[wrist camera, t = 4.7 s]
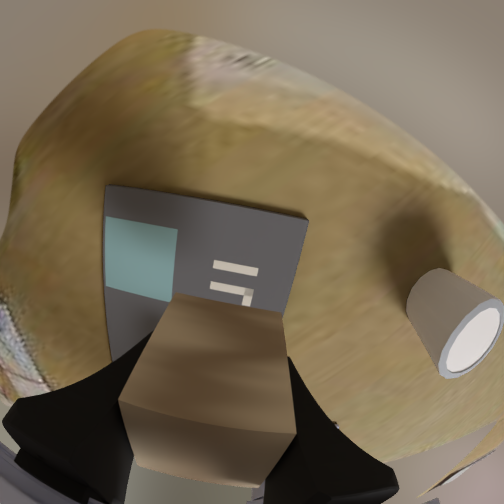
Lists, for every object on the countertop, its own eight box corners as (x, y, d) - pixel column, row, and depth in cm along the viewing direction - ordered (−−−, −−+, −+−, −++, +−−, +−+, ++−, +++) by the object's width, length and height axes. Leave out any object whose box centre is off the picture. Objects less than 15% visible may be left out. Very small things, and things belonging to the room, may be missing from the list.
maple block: (281, 312, 11) (296, 433, 6) (259, 383, 13) (258, 487, 7) (175, 292, 11) (117, 399, 5) (172, 367, 12) (137, 465, 7)
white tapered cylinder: (386, 301, 20) (426, 355, 13) (444, 244, 18) (499, 279, 11) (417, 342, 21) (450, 391, 14) (466, 293, 19) (509, 331, 13)
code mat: (307, 219, 18) (309, 221, 17) (253, 401, 23) (253, 406, 23) (109, 184, 17) (105, 185, 16) (116, 370, 23) (114, 373, 22)
